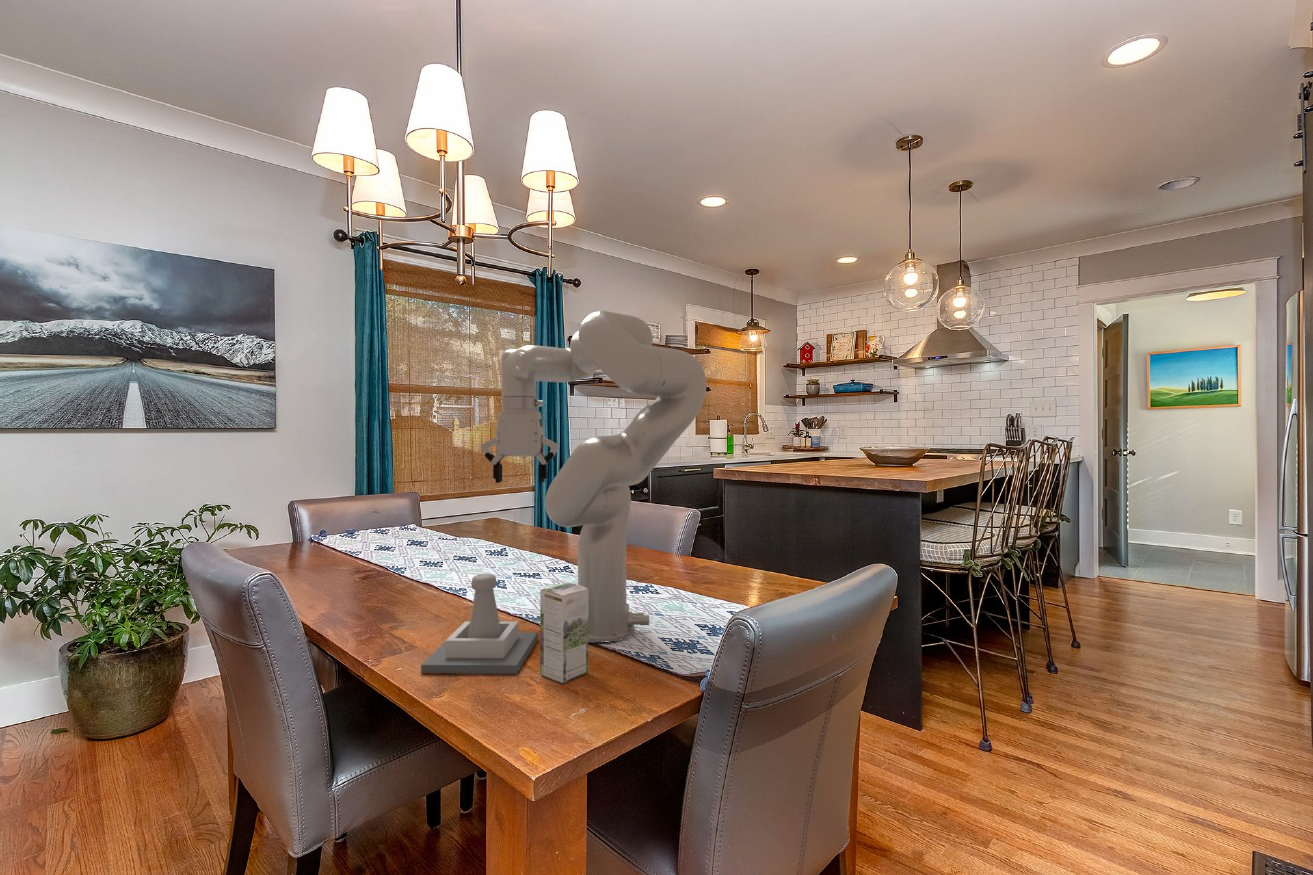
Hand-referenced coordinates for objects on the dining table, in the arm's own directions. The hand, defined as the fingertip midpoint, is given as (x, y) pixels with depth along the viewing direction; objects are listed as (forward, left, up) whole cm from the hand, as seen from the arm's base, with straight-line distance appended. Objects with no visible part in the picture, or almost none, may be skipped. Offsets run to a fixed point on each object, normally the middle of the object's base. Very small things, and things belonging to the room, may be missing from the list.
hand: (520, 482), depth 137 cm
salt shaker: (0, +28, -27) cm, 39 cm away
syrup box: (-16, +36, -28) cm, 49 cm away
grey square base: (0, +28, -28) cm, 40 cm away
